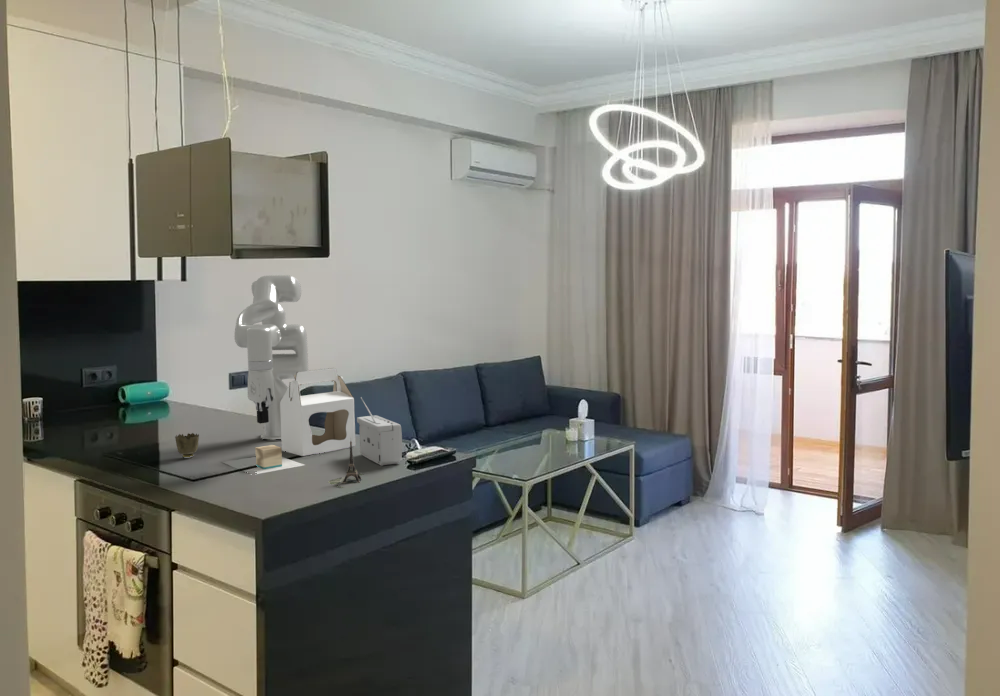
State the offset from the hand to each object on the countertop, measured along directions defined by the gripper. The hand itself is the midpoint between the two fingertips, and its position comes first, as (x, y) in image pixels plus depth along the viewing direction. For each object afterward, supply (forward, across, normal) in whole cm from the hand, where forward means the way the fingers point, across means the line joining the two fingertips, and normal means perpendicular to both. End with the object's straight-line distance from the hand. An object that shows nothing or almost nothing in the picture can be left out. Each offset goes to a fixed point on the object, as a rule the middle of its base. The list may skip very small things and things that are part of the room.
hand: (263, 422), depth 255 cm
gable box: (+15, -8, +24) cm, 30 cm away
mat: (+14, 0, -1) cm, 14 cm away
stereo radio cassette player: (+14, +20, +30) cm, 39 cm away
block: (+7, +4, -1) cm, 9 cm away
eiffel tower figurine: (+14, +38, +9) cm, 41 cm away
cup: (+14, -26, -15) cm, 34 cm away
